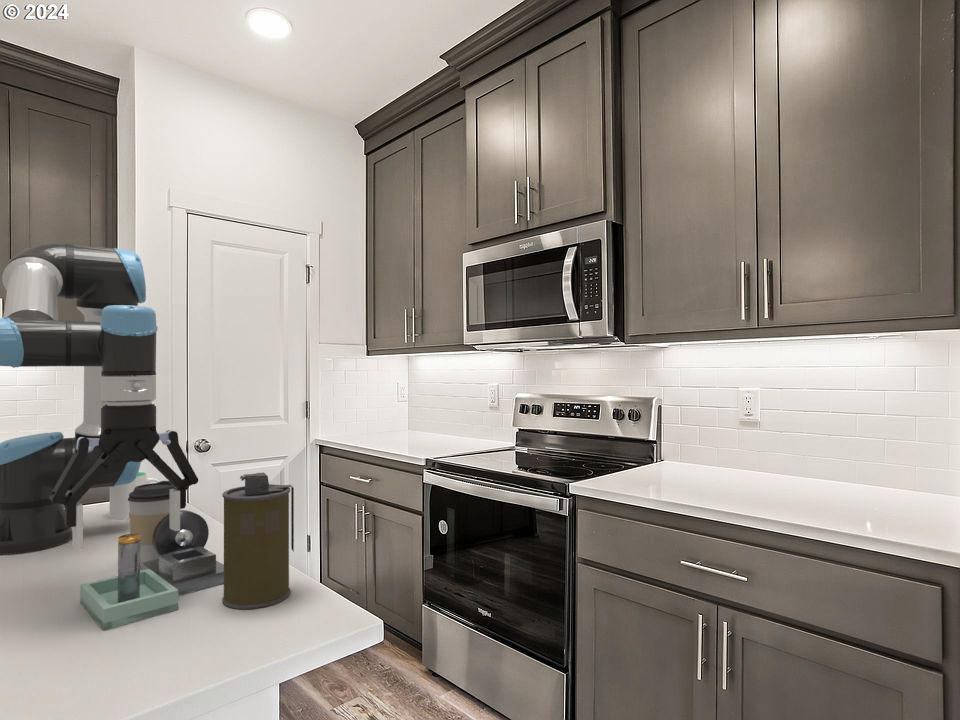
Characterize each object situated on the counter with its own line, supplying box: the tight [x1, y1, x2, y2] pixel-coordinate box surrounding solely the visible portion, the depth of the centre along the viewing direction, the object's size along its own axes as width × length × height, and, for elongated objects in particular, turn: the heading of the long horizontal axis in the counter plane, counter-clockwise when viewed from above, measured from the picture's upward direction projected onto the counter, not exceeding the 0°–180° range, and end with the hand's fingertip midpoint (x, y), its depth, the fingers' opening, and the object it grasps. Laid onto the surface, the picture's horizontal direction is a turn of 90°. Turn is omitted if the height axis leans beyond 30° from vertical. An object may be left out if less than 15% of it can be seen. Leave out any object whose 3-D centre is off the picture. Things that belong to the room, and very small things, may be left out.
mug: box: [109, 471, 161, 521], centre depth 151 cm, size 12×8×10 cm, turn 135°
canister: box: [221, 472, 295, 610], centre depth 96 cm, size 11×10×20 cm
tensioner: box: [140, 509, 224, 596], centre depth 105 cm, size 16×10×11 cm, turn 46°
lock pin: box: [117, 533, 141, 603], centre depth 92 cm, size 3×3×10 cm
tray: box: [79, 569, 179, 631], centre depth 92 cm, size 14×10×3 cm
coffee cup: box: [128, 480, 175, 568], centre depth 114 cm, size 9×9×15 cm
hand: (128, 538), depth 92 cm, fingers open, 13 cm apart
